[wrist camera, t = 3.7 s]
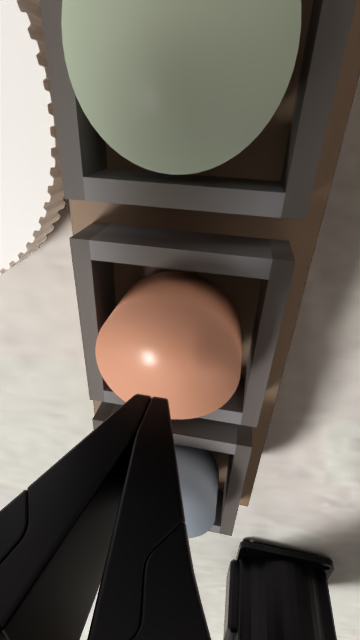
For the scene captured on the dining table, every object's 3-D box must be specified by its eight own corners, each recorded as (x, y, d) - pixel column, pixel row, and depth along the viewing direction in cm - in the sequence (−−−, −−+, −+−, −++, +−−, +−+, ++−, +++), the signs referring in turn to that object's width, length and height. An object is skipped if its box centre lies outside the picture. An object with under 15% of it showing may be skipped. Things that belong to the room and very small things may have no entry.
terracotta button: (252, 279, 10) (251, 311, 9) (233, 387, 13) (231, 429, 11) (113, 264, 11) (88, 290, 9) (120, 370, 13) (101, 407, 12)
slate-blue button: (224, 443, 14) (220, 487, 13) (214, 503, 17) (210, 547, 15) (123, 425, 15) (107, 465, 13) (127, 486, 17) (113, 526, 15)
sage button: (312, -80, 7) (333, -149, 5) (270, 169, 9) (274, 182, 7) (92, -75, 7) (43, -135, 5) (107, 157, 9) (75, 167, 8)
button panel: (371, -80, 9) (469, -240, 5) (248, 457, 20) (247, 542, 16) (84, -74, 10) (-29, -202, 6) (120, 434, 21) (89, 509, 17)
